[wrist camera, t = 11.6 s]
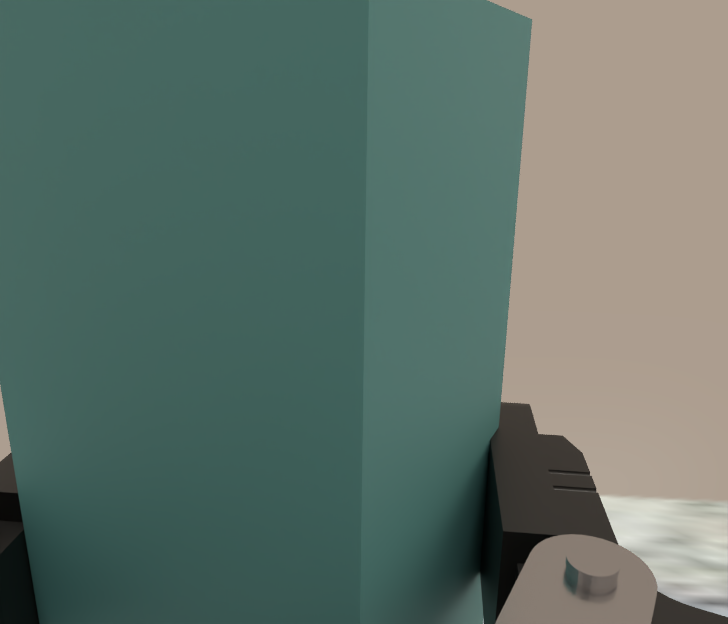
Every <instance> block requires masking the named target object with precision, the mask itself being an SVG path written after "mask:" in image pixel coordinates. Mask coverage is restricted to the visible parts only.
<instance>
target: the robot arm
mask: <svg viewBox="0 0 728 624" xmlns="http://www.w3.org/2000/svg"><path fill="white" fill-rule="evenodd" d="M480 580H481V592H482V605H483V617H484V624H728V617H725V616H721V615H718V614H715V613H711V612H708V611H705V610H701V609H698V608H695V607H692V606H689V605H686V604H683V603H680V602H678V601H676V600H673V599H671V598H669V597H667V596H665V595H663V594H662V593H660V592H658V591H657V583H656V579H655V577H654V575H653V573H652V571H651V570H650V569H649V567H648V566H647V565H646V564H645V563H644V562H643V561H642V560H641V559H640V558H639V557H637V556H636V555H635V554H633V553H632V552H630V551H629V550H627V549H625V548H624V547H622V546H619V545H618V543H617V540H616V538H615V535H614V532H613V530H612V527H611V525H610V522H609V520H608V517H607V515H606V512H605V509H604V507H603V504H602V502H601V499H600V497H599V494H598V493H596V487H595V484H594V482H593V479H592V476H590V471H589V469H588V466H587V464H586V461H585V459H584V456H583V453H582V452H580V451H579V450H578V449H577V448H576V447H575V446H574V445H573V444H571V443H570V442H569V441H568V440H567V439H566V438H565V437H563V436H558V435H543V434H538V432H537V428H536V425H535V421H534V418H533V414H532V410H531V407H530V405H529V404H520V403H503V402H501V406H500V418H499V427H498V429H497V430H496V432H495V433H494V435H493V436H492V438H491V439H490V450H489V463H488V476H487V489H486V502H485V514H484V527H483V540H482V553H481V565H480ZM0 624H39V618H38V611H37V605H36V599H35V593H34V587H33V581H32V575H31V569H30V563H29V556H28V550H27V544H26V538H25V532H24V526H23V520H22V514H21V508H20V501H19V495H18V489H17V483H16V477H15V471H14V465H13V459H12V453H10V454H9V455H8V456H7V457H5V458H4V459H3V460H2V461H1V462H0Z"/></svg>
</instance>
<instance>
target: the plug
mask: <svg viewBox="0 0 728 624" xmlns="http://www.w3.org/2000/svg"><path fill="white" fill-rule="evenodd" d="M531 26H532V19H530V18H527V17H525V16H522V15H520V14H518V13H515V12H513V11H511V10H509V9H506V8H504V7H501V6H499V5H497V4H494V3H492V2H490V1H487V0H0V385H1V391H2V398H3V404H4V410H5V416H6V422H7V428H8V434H9V440H10V446H11V453H12V459H13V465H14V471H15V477H16V483H17V489H18V495H19V501H20V508H21V514H22V520H23V526H24V532H25V538H26V544H27V550H28V556H29V563H30V569H31V575H32V581H33V587H34V593H35V599H36V605H37V611H38V618H39V624H483V605H482V592H481V580H480V565H481V553H482V540H483V527H484V514H485V502H486V489H487V476H488V463H489V450H490V439H491V438H492V436H493V435H494V433H495V432H496V430H497V429H498V427H499V418H500V406H501V393H502V381H503V368H504V357H505V344H506V332H507V331H506V330H507V320H508V307H509V296H510V283H511V271H512V259H513V247H514V235H515V222H516V210H517V198H518V185H519V174H520V161H521V149H522V136H523V124H524V112H525V99H526V87H527V76H528V63H529V51H530V39H531Z"/></svg>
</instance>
